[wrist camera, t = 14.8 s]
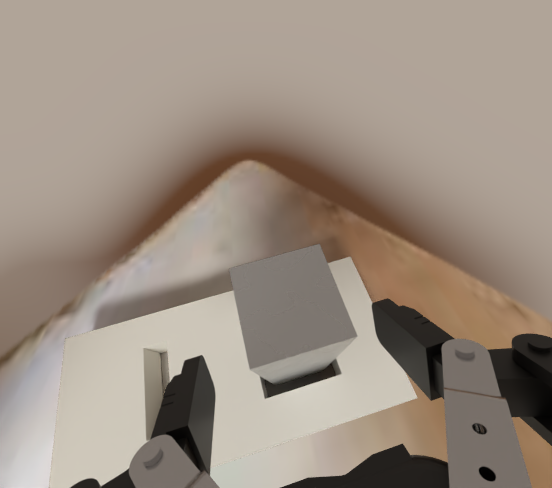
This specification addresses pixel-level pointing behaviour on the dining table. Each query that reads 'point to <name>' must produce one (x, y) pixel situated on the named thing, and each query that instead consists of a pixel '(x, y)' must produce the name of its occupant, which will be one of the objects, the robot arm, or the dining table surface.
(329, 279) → the gray square peg
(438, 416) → the dining table surface
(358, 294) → the socket plank
